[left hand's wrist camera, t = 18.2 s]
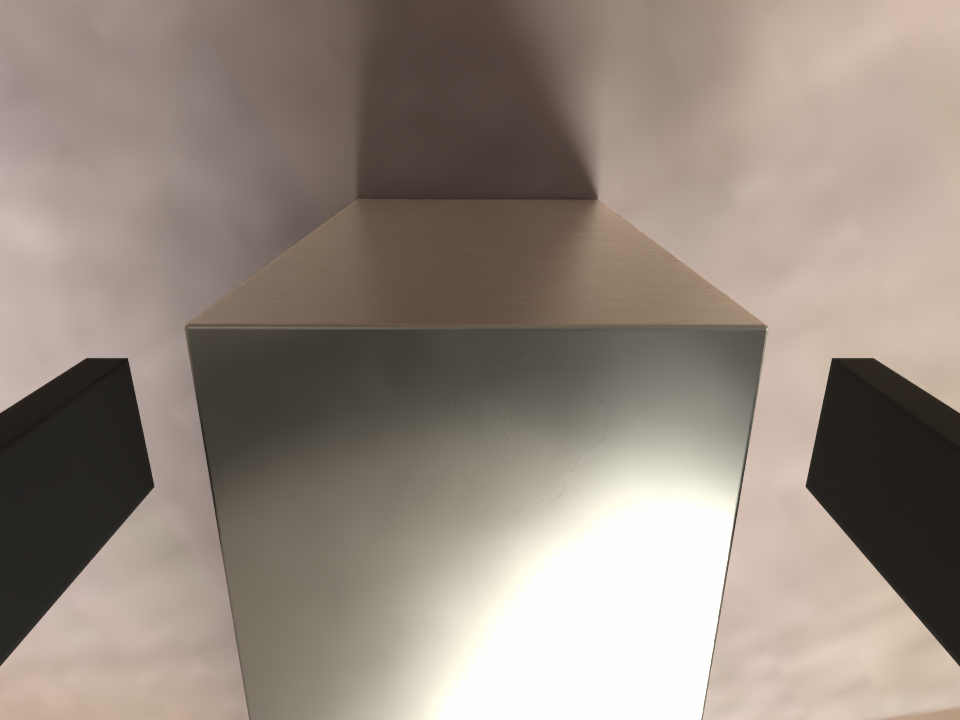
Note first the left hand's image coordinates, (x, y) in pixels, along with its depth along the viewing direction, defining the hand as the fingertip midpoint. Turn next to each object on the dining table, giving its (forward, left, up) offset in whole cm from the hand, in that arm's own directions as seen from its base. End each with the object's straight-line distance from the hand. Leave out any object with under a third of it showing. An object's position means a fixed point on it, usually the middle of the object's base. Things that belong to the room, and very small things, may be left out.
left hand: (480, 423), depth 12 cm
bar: (0, +8, -4) cm, 9 cm away
